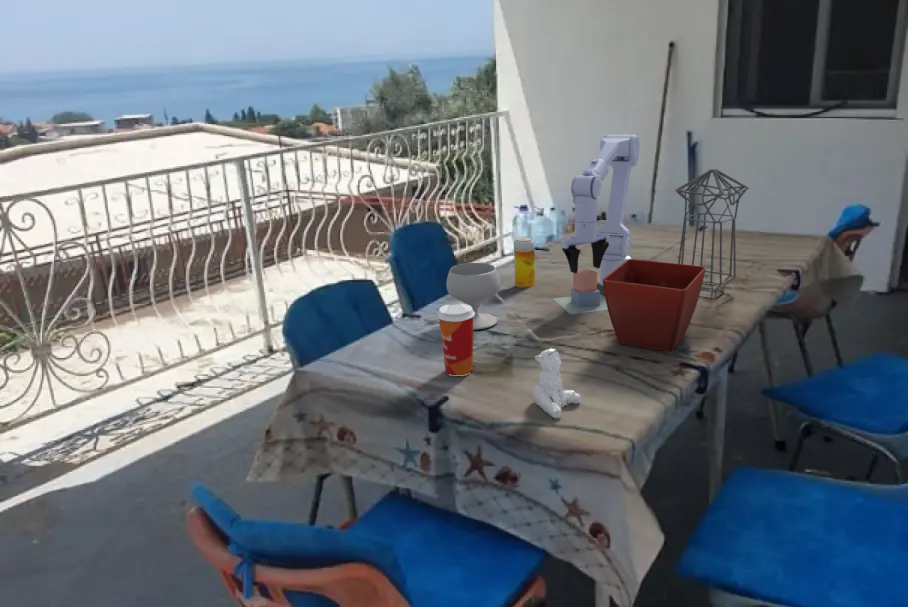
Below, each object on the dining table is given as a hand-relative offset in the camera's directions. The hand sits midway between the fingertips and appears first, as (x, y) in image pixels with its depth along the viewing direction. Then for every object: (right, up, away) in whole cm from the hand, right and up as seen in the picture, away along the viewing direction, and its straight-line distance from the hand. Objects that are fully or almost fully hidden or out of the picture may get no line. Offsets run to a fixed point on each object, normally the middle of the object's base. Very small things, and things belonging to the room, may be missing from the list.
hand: (585, 269), depth 193 cm
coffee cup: (-35, -25, -34) cm, 54 cm away
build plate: (+1, -10, +3) cm, 10 cm away
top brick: (0, -5, +2) cm, 6 cm away
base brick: (+1, -9, +3) cm, 10 cm away
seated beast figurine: (-16, -30, -51) cm, 62 cm away
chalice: (-30, -14, -5) cm, 34 cm away
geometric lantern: (+36, -6, +9) cm, 38 cm away
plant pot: (+12, -18, -22) cm, 31 cm away
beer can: (-14, -4, +23) cm, 27 cm away
